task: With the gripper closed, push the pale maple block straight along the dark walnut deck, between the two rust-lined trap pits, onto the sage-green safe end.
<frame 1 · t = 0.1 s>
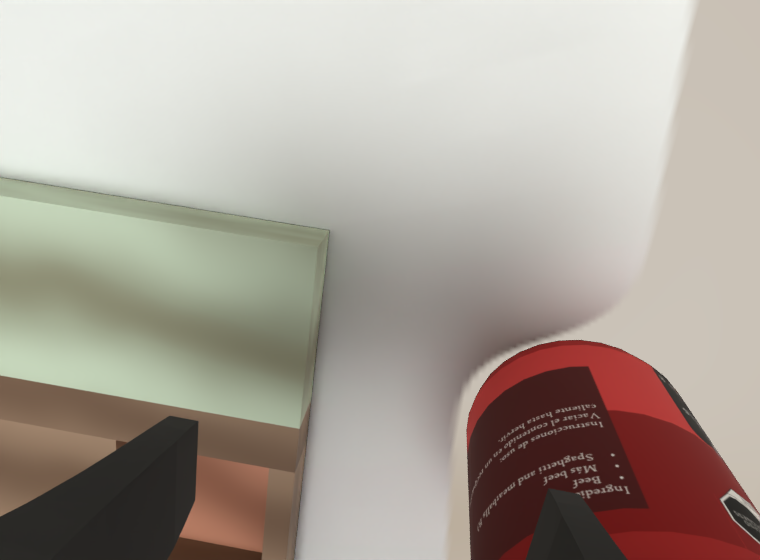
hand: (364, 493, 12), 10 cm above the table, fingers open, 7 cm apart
trap deck: (53, 452, 25), on the table
canned food: (569, 419, 22), on the table, touching gripper
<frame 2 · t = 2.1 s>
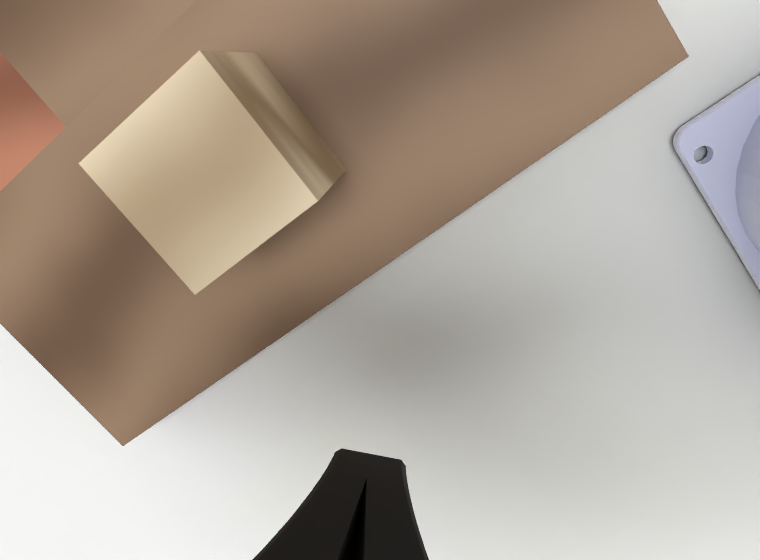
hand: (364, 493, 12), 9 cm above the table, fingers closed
maple block: (251, 155, 17), point 2 cm above the table, touching trap deck
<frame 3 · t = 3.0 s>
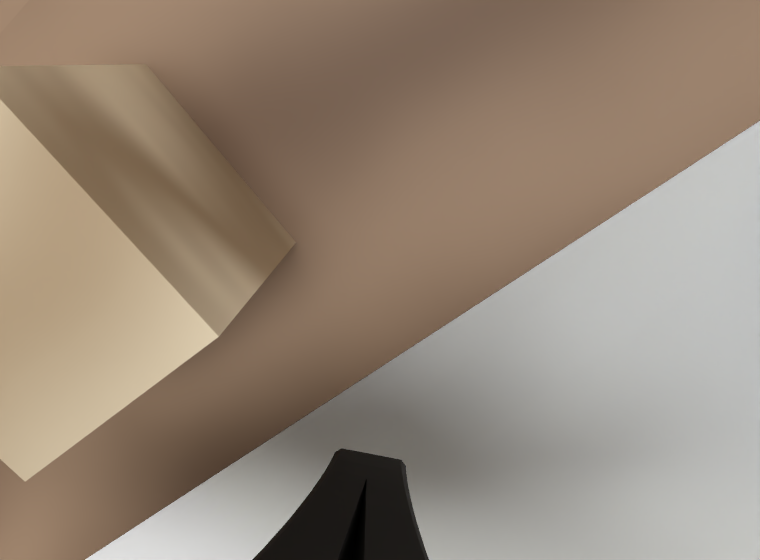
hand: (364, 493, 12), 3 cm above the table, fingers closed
maple block: (150, 221, 11), point 2 cm above the table, touching trap deck
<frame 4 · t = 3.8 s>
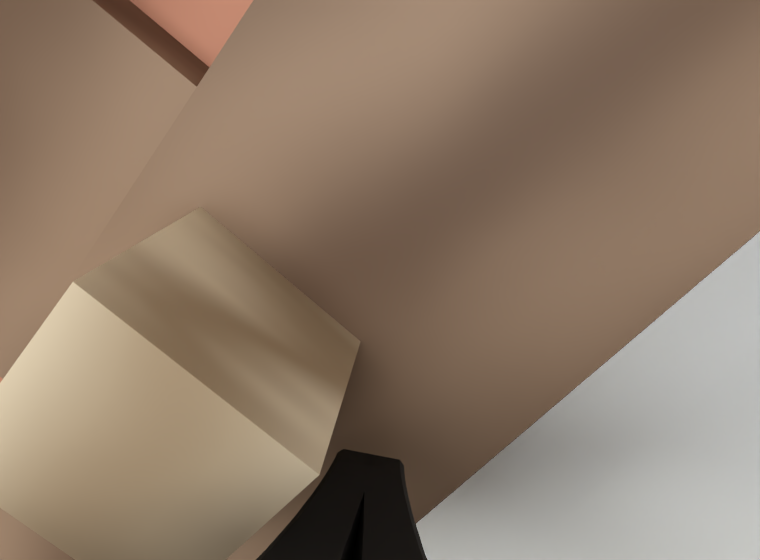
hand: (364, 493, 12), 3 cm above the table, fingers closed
trap deck: (27, 137, 13), on the table
maple block: (223, 342, 12), point 2 cm above the table, touching gripper, trap deck
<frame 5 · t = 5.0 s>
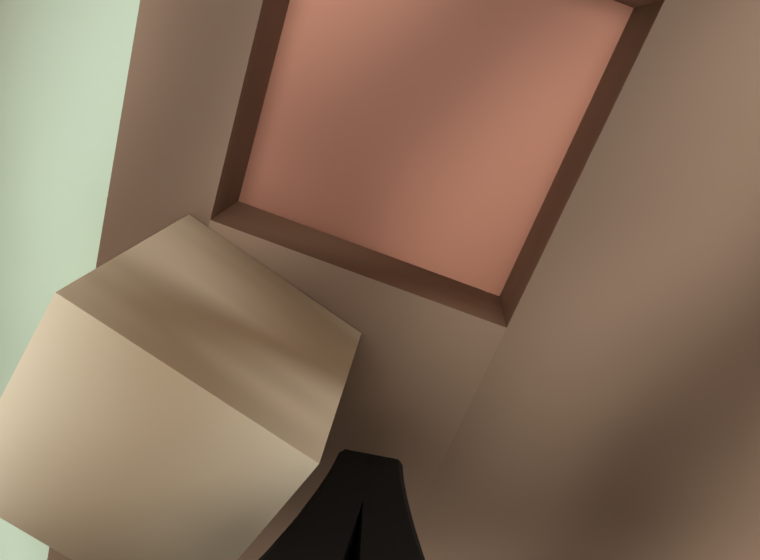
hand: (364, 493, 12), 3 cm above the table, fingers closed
trap deck: (320, 387, 14), on the table
maple block: (227, 347, 12), point 2 cm above the table, touching gripper
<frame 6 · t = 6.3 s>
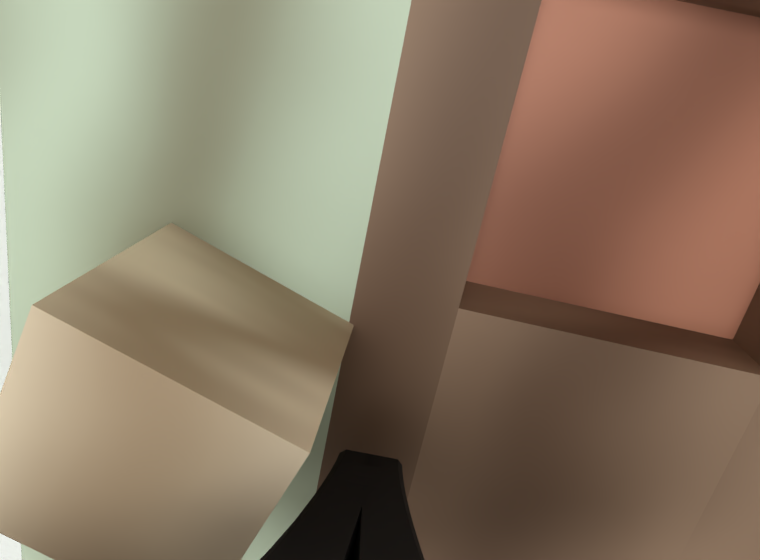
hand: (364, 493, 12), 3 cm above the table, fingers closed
trap deck: (537, 447, 14), on the table
maple block: (223, 352, 12), point 2 cm above the table, touching gripper, trap deck
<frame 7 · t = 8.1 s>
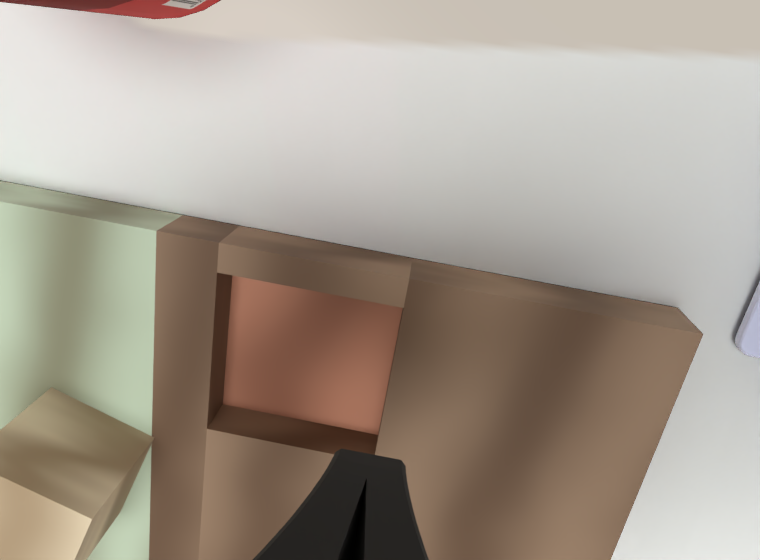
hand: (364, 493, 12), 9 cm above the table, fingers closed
trap deck: (291, 495, 24), on the table
maple block: (87, 452, 21), point 2 cm above the table, touching trap deck
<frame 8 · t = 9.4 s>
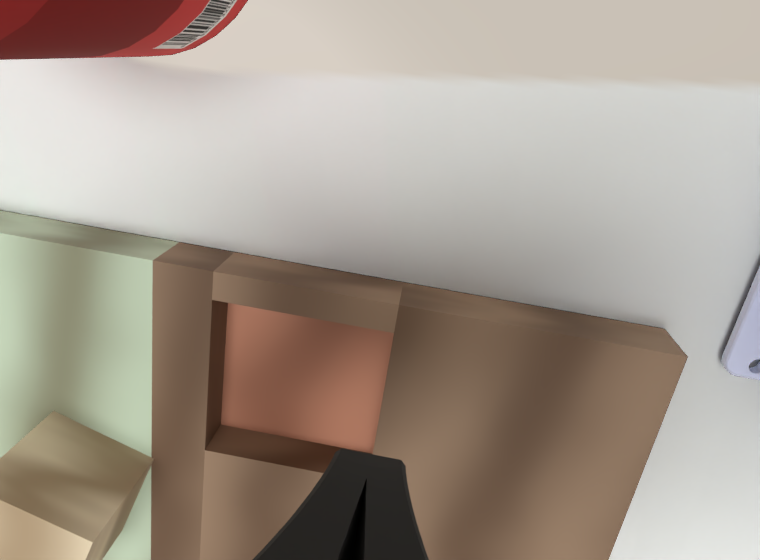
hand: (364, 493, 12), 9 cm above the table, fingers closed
trap deck: (289, 511, 24), on the table
maple block: (89, 473, 22), point 2 cm above the table, touching trap deck
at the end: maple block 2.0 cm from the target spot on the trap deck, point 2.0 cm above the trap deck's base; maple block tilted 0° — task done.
